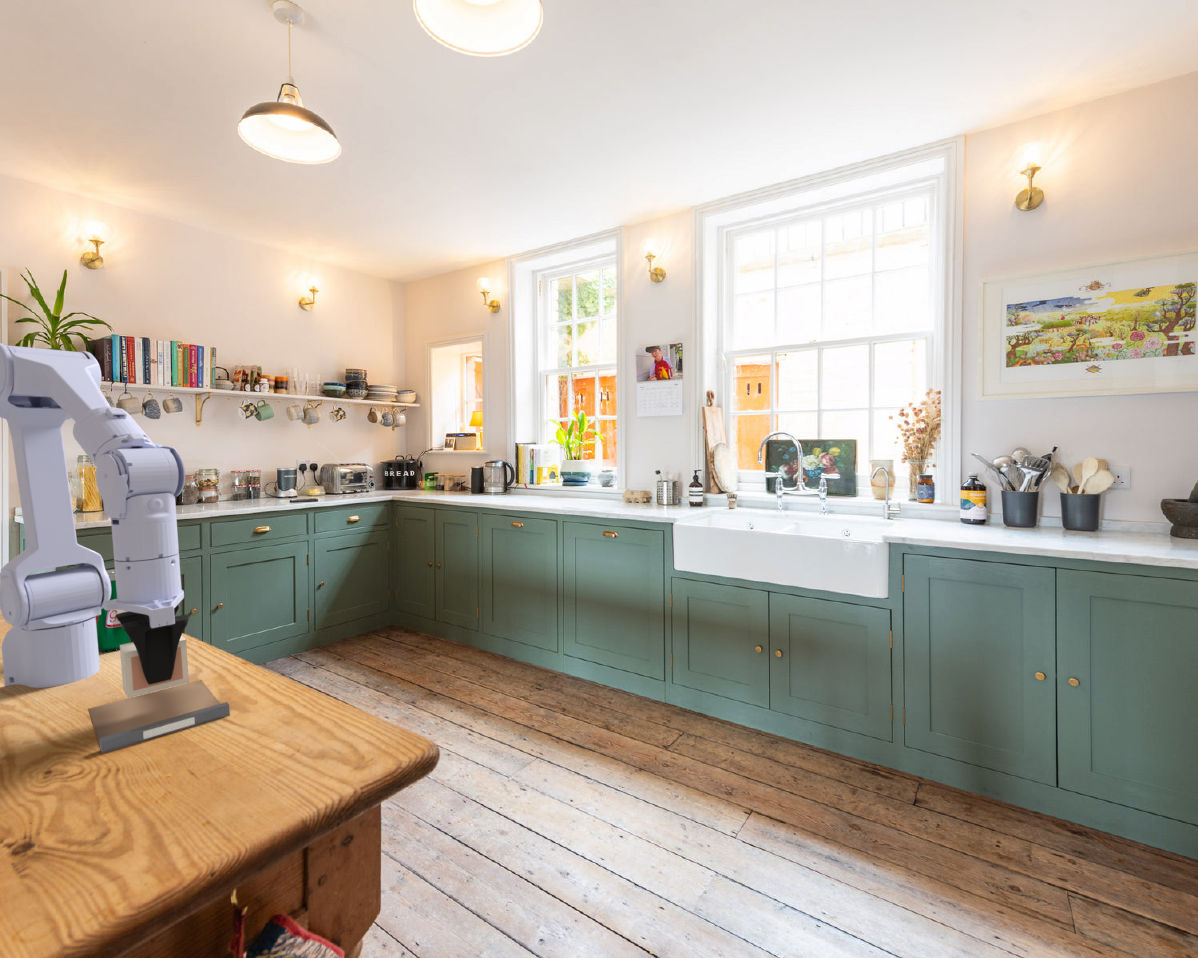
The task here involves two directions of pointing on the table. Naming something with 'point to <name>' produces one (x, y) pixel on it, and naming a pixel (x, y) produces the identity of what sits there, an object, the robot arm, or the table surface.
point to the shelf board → (151, 708)
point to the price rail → (163, 727)
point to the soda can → (110, 623)
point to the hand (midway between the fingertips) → (156, 675)
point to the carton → (135, 677)
